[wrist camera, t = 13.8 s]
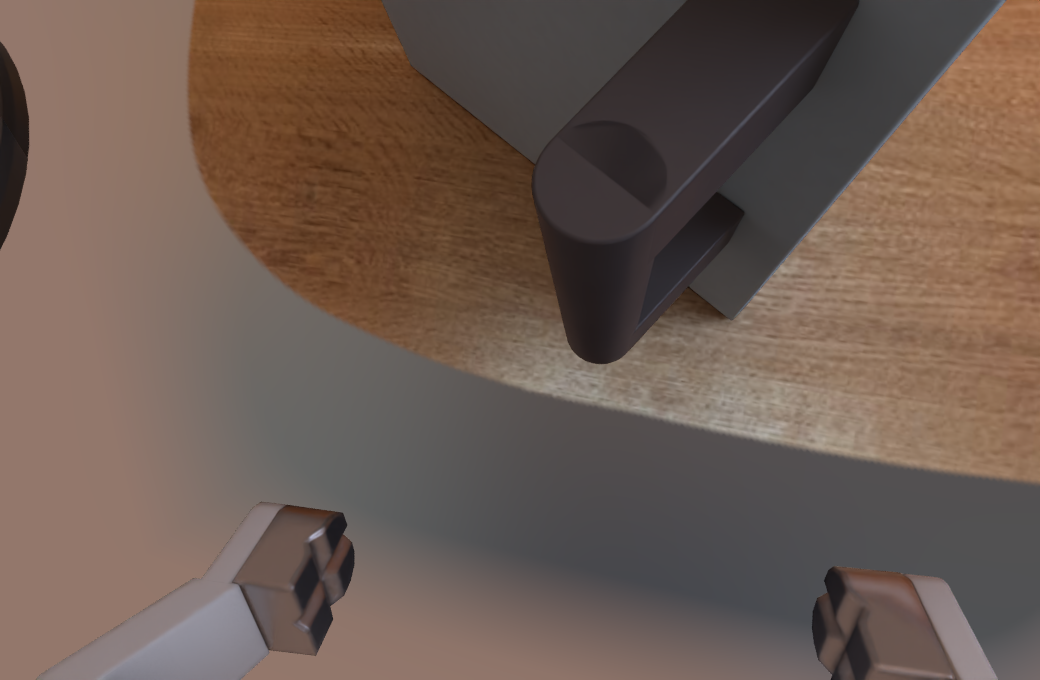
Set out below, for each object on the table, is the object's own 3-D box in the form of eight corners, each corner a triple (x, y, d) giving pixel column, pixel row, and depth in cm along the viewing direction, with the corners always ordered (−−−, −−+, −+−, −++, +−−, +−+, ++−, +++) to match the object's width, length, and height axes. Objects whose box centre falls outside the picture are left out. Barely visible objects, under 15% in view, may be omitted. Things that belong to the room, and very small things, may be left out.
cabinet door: (633, 429, 21) (889, 59, 2) (324, 151, 26) (-430, -740, 7) (748, 302, 22) (1716, -833, 3) (426, 50, 26) (-19, -1037, 7)
